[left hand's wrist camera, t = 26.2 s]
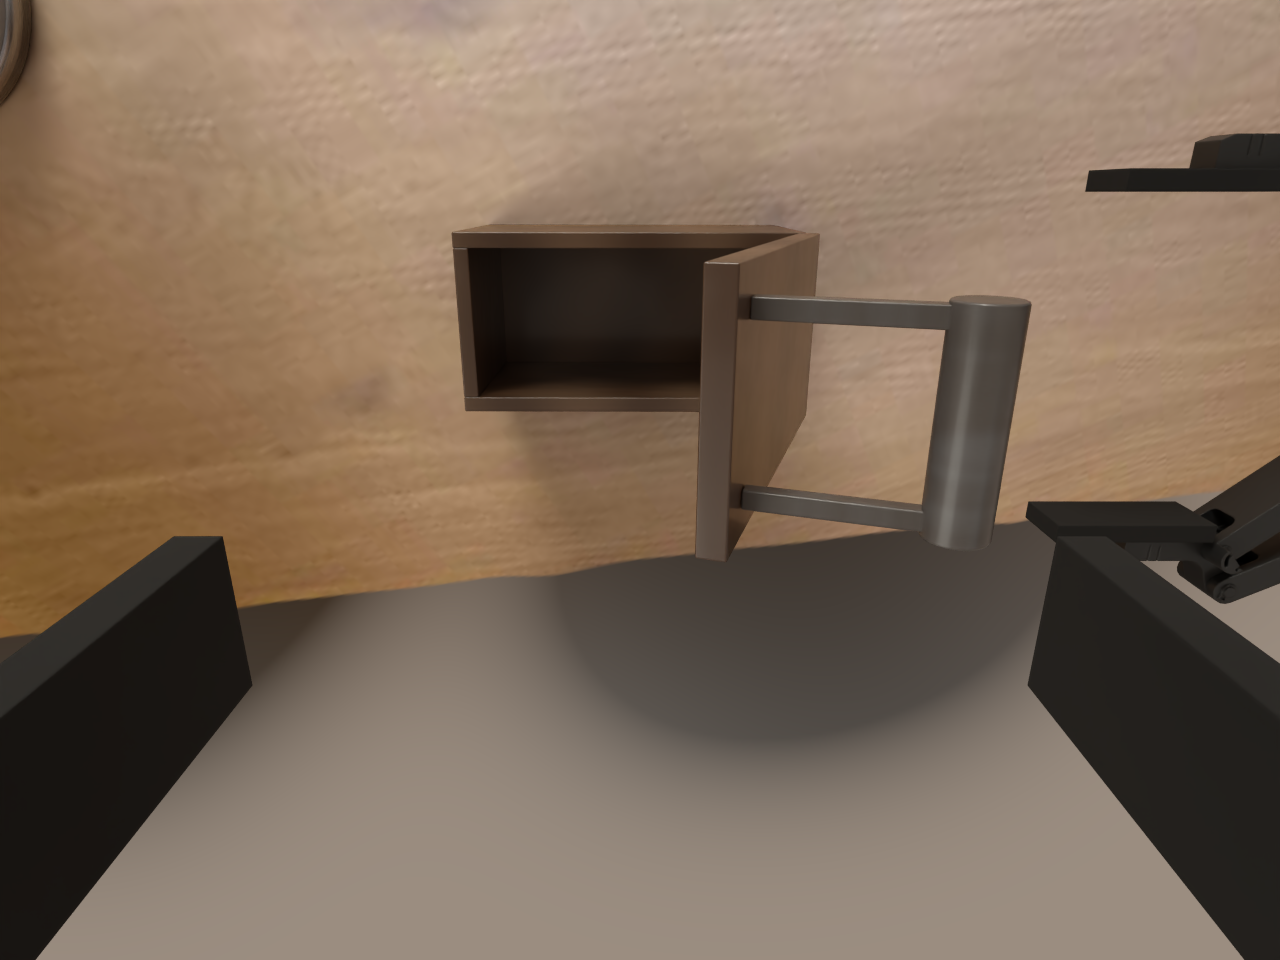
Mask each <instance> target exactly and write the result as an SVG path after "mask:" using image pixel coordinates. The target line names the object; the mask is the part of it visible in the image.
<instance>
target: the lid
mask: <svg viewBox="0 0 1280 960" xmlns="http://www.w3.org/2000/svg"><path fill="white" fill-rule="evenodd" d="M819 239H820V234H819V233H799V234H795V235H792V236H789V237H785V238H782V239H779V240H775V241H772V242H769V243H766V244H762V245H759V246H756V247H752V248H749V249H746V250H742V251H739V252H736V253H733V254H729V255H726V256H723V257H719V258H716V259H713V260H710V261H706V262H704V266H703V301H702V336H701V370H700V405H699V440H698V475H697V510H696V544H695V557H696V558H699V559H706V560H713V561H720V562H727V560H728V558H729V556H730V554H731V553H732V551H733V549H734V547H735V545H736V543H737V542H738V540H739V538H740V536H741V534H742V532H743V530H744V529H745V527H746V525H747V523H748V521H749V519H750V517H751V516H752V514H753V512H754V511H758V512H766V513H774V514H781V515H789V516H797V517H805V518H813V519H821V520H829V521H837V522H845V523H853V524H861V525H869V526H877V527H885V528H893V529H901V530H908V531H916V532H919V535H920V536H921V538H923V539H924V540H925V541H927V542H929V543H931V544H933V545H935V546H938V547H942V548H946V549H951V550H958V551H976V550H981V549H984V548H986V547H988V546H989V544H990V543H991V539H992V534H993V528H994V522H995V516H996V510H997V505H998V499H999V493H1000V487H1001V481H1002V475H1003V470H1004V464H1005V458H1006V452H1007V446H1008V440H1009V434H1010V429H1011V423H1012V417H1013V411H1014V405H1015V399H1016V393H1017V388H1018V382H1019V376H1020V370H1021V364H1022V358H1023V353H1024V347H1025V341H1026V335H1027V329H1028V323H1029V317H1030V312H1031V306H1032V304H1031V302H1030V301H1028V300H1025V299H1020V298H1013V297H1003V296H986V295H966V296H956V297H953V298H951V299H950V300H949V302H934V301H909V300H885V299H860V298H836V297H815V291H816V278H817V265H818V252H819ZM813 323H819V324H839V325H858V326H878V327H897V328H917V329H937V330H945V337H944V344H943V352H942V359H941V366H940V374H939V381H938V389H937V396H936V403H935V411H934V418H933V426H932V433H931V440H930V448H929V455H928V462H927V470H926V477H925V485H924V492H923V499H922V505H920V504H911V503H902V502H894V501H885V500H876V499H868V498H859V497H851V496H842V495H833V494H825V493H816V492H807V491H799V490H790V489H781V488H773V487H767V486H768V484H769V482H770V480H771V479H772V477H773V475H774V473H775V471H776V469H777V468H778V466H779V464H780V462H781V460H782V458H783V456H784V455H785V453H786V451H787V449H788V447H789V445H790V443H791V442H792V440H793V438H794V436H795V434H796V432H797V430H798V429H799V427H800V425H801V423H802V421H803V419H804V418H805V416H806V407H807V394H808V381H809V368H810V355H811V342H812V329H813Z"/></svg>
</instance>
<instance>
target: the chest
mask: <svg viewBox="0 0 1280 960" xmlns="http://www.w3.org/2000/svg"><path fill="white" fill-rule="evenodd" d="M799 233H805V232H800V231H796V230H792V229H787V228H783V227H779V226H774V225H485V226H480V227H475V228H470V229H465V230H460V231H455V232H452V244H453V256H454V269H455V282H456V295H457V308H458V321H459V334H460V347H461V360H462V373H463V386H464V396H465V398H464V399H465V410H466V411H639V412H699V405H700V370H701V336H702V301H703V266H704V262H706V261H710V260H713V259H716V258H719V257H723V256H726V255H729V254H733V253H736V252H739V251H742V250H746V249H749V248H752V247H756V246H759V245H762V244H766V243H769V242H772V241H775V240H779V239H782V238H785V237H789V236H792V235H795V234H799Z"/></svg>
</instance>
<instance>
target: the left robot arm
mask: <svg viewBox="0 0 1280 960" xmlns="http://www.w3.org/2000/svg"><path fill="white" fill-rule="evenodd" d="M30 36H31V5H30V0H0V104H1V103H2V102H3V101H4V99H5V98H6V97H7V96H8V94H9V93H10V92H11V90H12V89H13V87H14V86H15V84H16V82H17V81H18V79H19V76H20V74H21V72H22V70H23V67H24V64H25V61H26V58H27V54H28V49H29V45H30ZM251 686H252V681H251V676H250V671H249V666H248V661H247V656H246V651H245V646H244V641H243V636H242V631H241V626H240V621H239V616H238V611H237V606H236V601H235V596H234V591H233V586H232V581H231V576H230V571H229V566H228V561H227V556H226V551H225V546H224V541H223V536H174V537H172V538H171V539H170V540H168V541H167V542H166V543H164V544H163V545H161V546H160V547H159V548H157V549H156V550H155V551H153V552H152V553H151V554H149V555H148V556H146V557H145V558H144V559H142V560H141V561H140V562H138V563H137V564H136V565H134V566H133V567H131V568H130V569H129V570H127V571H126V572H125V573H123V574H122V575H121V576H119V577H118V578H116V579H115V580H114V581H112V582H111V583H110V584H108V585H107V586H106V587H104V588H103V589H101V590H100V591H99V592H97V593H96V594H95V595H93V596H92V597H90V598H89V599H88V600H86V601H85V602H84V603H82V604H81V605H80V606H78V607H77V608H75V609H74V610H73V611H71V612H70V613H69V614H67V615H66V616H65V617H63V618H62V619H60V620H59V621H58V622H56V623H55V624H54V625H52V626H51V627H50V628H48V629H47V630H45V631H44V632H43V633H41V634H40V635H39V636H37V637H36V638H35V639H33V640H32V641H30V642H29V643H28V644H26V645H25V646H24V647H22V648H21V649H20V650H18V651H17V652H15V653H14V654H13V655H11V656H10V657H9V658H7V659H6V660H5V661H3V662H2V663H0V960H36V959H37V957H38V956H39V955H40V953H41V952H42V951H43V950H44V948H45V947H46V946H47V945H48V943H49V942H50V941H51V940H52V938H53V937H54V936H55V934H56V933H57V932H58V931H59V929H60V928H61V927H62V926H63V924H64V923H65V922H66V921H67V919H68V918H69V917H70V916H71V914H72V913H73V912H74V910H75V909H76V908H77V907H78V905H79V904H80V903H81V902H82V900H83V899H84V898H85V896H86V895H87V894H88V893H89V891H90V890H91V889H92V888H93V886H94V885H95V884H96V883H97V881H98V880H99V879H100V878H101V876H102V875H103V874H104V873H105V871H106V870H107V869H108V867H109V866H110V865H111V864H112V862H113V861H114V860H115V859H116V857H117V856H118V855H119V853H120V852H121V851H122V850H123V848H124V847H125V846H126V845H127V843H128V842H129V841H130V840H131V838H132V837H133V836H134V835H135V833H136V832H137V831H138V829H139V828H140V827H141V826H142V824H143V823H144V822H145V821H146V819H147V818H148V817H149V816H150V814H151V813H152V812H153V811H154V809H155V808H156V807H157V805H158V804H159V803H160V802H161V800H162V799H163V798H164V797H165V795H166V794H167V793H168V791H169V790H170V789H171V788H172V786H173V785H174V784H175V783H176V781H177V780H178V779H179V778H180V776H181V775H182V774H183V772H184V771H185V770H186V769H187V767H188V766H189V765H190V764H191V762H192V761H193V760H194V759H195V757H196V756H197V755H198V754H199V752H200V751H201V750H202V748H203V747H204V746H205V745H206V743H207V742H208V741H209V740H210V738H211V737H212V736H213V735H214V733H215V732H216V731H217V730H218V728H219V727H220V726H221V724H222V723H223V722H224V721H225V719H226V718H227V717H228V716H229V714H230V713H231V712H232V711H233V709H234V708H235V707H236V705H237V704H238V703H239V702H240V700H241V699H242V698H243V697H244V695H245V694H246V693H247V691H248V690H249V689H250V688H251ZM1028 686H1029V688H1030V689H1031V690H1032V692H1033V693H1034V694H1035V695H1036V697H1037V698H1038V699H1039V700H1040V702H1041V703H1042V704H1043V705H1044V707H1045V708H1046V709H1047V711H1048V712H1049V713H1050V714H1051V716H1052V717H1053V718H1054V719H1055V721H1056V722H1057V723H1058V724H1059V726H1060V727H1061V728H1062V729H1063V731H1064V732H1065V733H1066V735H1067V736H1068V737H1069V738H1070V740H1071V741H1072V742H1073V743H1074V745H1075V746H1076V747H1077V748H1078V750H1079V751H1080V752H1081V754H1082V755H1083V756H1084V757H1085V759H1086V760H1087V761H1088V762H1089V764H1090V765H1091V766H1092V767H1093V769H1094V770H1095V771H1096V773H1097V774H1098V775H1099V776H1100V778H1101V779H1102V780H1103V781H1104V783H1105V784H1106V785H1107V786H1108V788H1109V789H1110V790H1111V791H1112V793H1113V794H1114V795H1115V797H1116V798H1117V799H1118V800H1119V802H1120V803H1121V804H1122V805H1123V807H1124V808H1125V809H1126V811H1127V812H1128V813H1129V814H1130V816H1131V817H1132V818H1133V819H1134V821H1135V822H1136V823H1137V824H1138V826H1139V827H1140V828H1141V829H1142V831H1143V832H1144V833H1145V835H1146V836H1147V837H1148V838H1149V840H1150V841H1151V842H1152V843H1153V845H1154V846H1155V847H1156V848H1157V850H1158V851H1159V852H1160V853H1161V855H1162V856H1163V857H1164V859H1165V860H1166V861H1167V862H1168V864H1169V865H1170V866H1171V867H1172V869H1173V870H1174V871H1175V873H1176V874H1177V875H1178V876H1179V878H1180V879H1181V880H1182V881H1183V883H1184V884H1185V885H1186V886H1187V888H1188V889H1189V890H1190V891H1191V893H1192V894H1193V895H1194V897H1195V898H1196V899H1197V900H1198V902H1199V903H1200V904H1201V905H1202V907H1203V908H1204V909H1205V910H1206V912H1207V913H1208V914H1209V916H1210V917H1211V918H1212V919H1213V921H1214V922H1215V923H1216V924H1217V926H1218V927H1219V928H1220V929H1221V931H1222V932H1223V933H1224V934H1225V936H1226V937H1227V938H1228V940H1229V941H1230V942H1231V943H1232V945H1233V946H1234V947H1235V948H1236V950H1237V951H1238V952H1239V953H1240V955H1241V956H1242V957H1243V959H1244V960H1280V663H1278V662H1277V661H1275V660H1274V659H1273V658H1271V657H1270V656H1269V655H1267V654H1266V653H1264V652H1263V651H1262V650H1260V649H1259V648H1258V647H1256V646H1255V645H1254V644H1252V643H1251V642H1250V641H1248V640H1247V639H1245V638H1244V637H1243V636H1241V635H1240V634H1239V633H1237V632H1236V631H1234V630H1233V629H1232V628H1230V627H1229V626H1228V625H1226V624H1225V623H1224V622H1222V621H1221V620H1220V619H1218V618H1217V617H1215V616H1214V615H1213V614H1211V613H1210V612H1209V611H1207V610H1206V609H1205V608H1203V607H1202V606H1200V605H1199V604H1198V603H1196V602H1195V601H1194V600H1192V599H1191V598H1190V597H1188V596H1187V595H1185V594H1184V593H1183V592H1181V591H1180V590H1179V589H1177V588H1176V587H1174V586H1173V585H1172V584H1170V583H1169V582H1168V581H1166V580H1165V579H1164V578H1162V577H1161V576H1159V575H1158V574H1157V573H1155V572H1154V571H1153V570H1151V569H1150V568H1149V567H1147V566H1146V565H1144V564H1143V563H1142V562H1140V561H1139V560H1138V559H1136V558H1135V557H1134V556H1132V555H1131V554H1129V553H1128V552H1127V551H1125V550H1124V549H1123V548H1121V547H1120V546H1119V545H1117V544H1116V543H1114V542H1113V541H1112V540H1110V539H1109V538H1108V537H1106V536H1057V541H1056V546H1055V551H1054V556H1053V561H1052V566H1051V571H1050V576H1049V581H1048V586H1047V591H1046V596H1045V601H1044V606H1043V611H1042V616H1041V621H1040V626H1039V631H1038V636H1037V641H1036V646H1035V651H1034V656H1033V661H1032V666H1031V671H1030V676H1029V681H1028Z"/></svg>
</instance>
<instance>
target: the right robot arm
mask: <svg viewBox="0 0 1280 960" xmlns="http://www.w3.org/2000/svg"><path fill="white" fill-rule="evenodd" d="M1268 191H1280V134H1229V135H1219V136H1210V137H1207V138H1205V139H1202V140H1200V141H1197V142H1195V146H1194V150H1193V155H1192V159H1191V164H1190V168H1130V169H1111V170H1092V171H1089V174H1088V180H1087V185H1086V191H1085V192H1268ZM1026 518H1027V519H1028V520H1029V521H1031V522H1032V523H1033V524H1034V525H1036V526H1037V527H1038V528H1039V529H1040V530H1041V531H1043V532H1044V533H1045V534H1046V535H1047V536H1049V537H1050V538H1051V539H1052V540H1053V541H1055V542H1056V541H1057V536H1106V537H1108V538H1109V539H1110V540H1112V541H1113V542H1114V543H1116V544H1117V545H1119V546H1120V547H1121V548H1123V549H1124V550H1125V551H1127V552H1128V553H1129V554H1131V555H1132V556H1134V557H1135V558H1136V559H1138V560H1139V561H1147V560H1148V561H1156V560H1158V561H1180V562H1179V563H1178V566H1177V572H1178V573H1179V575H1180V576H1182V577H1183V578H1184V579H1186V580H1187V581H1188V582H1190V583H1191V584H1193V585H1194V586H1196V587H1197V588H1198V589H1200V590H1201V591H1203V592H1204V593H1206V594H1207V595H1208V596H1210V597H1211V598H1213V599H1214V600H1216V601H1217V602H1219V603H1223V604H1226V603H1231V602H1233V601H1236V600H1238V599H1241V598H1244V597H1246V596H1249V595H1251V594H1254V593H1256V592H1259V591H1262V590H1264V589H1267V588H1269V587H1272V586H1274V585H1277V584H1279V583H1280V456H1278V457H1277V458H1275V459H1274V460H1272V461H1271V462H1269V463H1267V464H1266V465H1264V466H1263V467H1261V468H1260V469H1258V470H1257V471H1255V472H1254V473H1252V474H1251V475H1249V476H1247V477H1246V478H1244V479H1243V480H1241V481H1240V482H1238V483H1237V484H1235V485H1234V486H1232V487H1231V488H1229V489H1227V490H1226V491H1224V492H1223V493H1221V494H1220V495H1218V496H1217V497H1215V498H1214V499H1212V500H1210V501H1209V502H1208V503H1206V504H1204V505H1203V506H1201V507H1200V508H1198V509H1197V510H1195V511H1194V512H1193V511H1191V510H1189V509H1188V508H1186V507H1184V506H1182V505H1181V504H1179V503H1177V502H1028V506H1027V512H1026Z"/></svg>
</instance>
